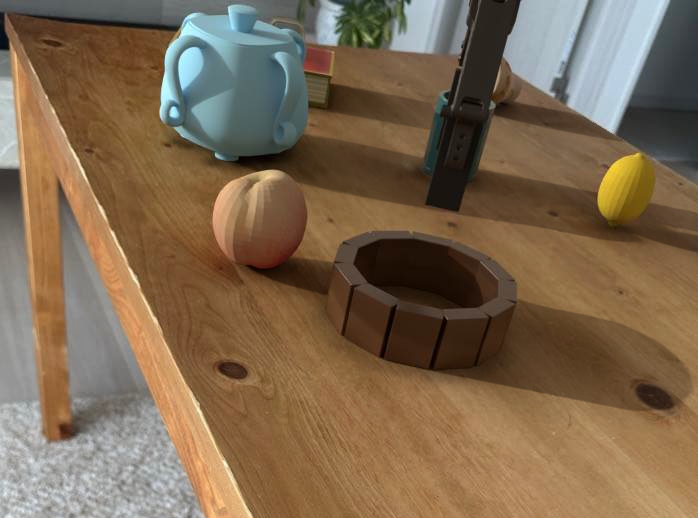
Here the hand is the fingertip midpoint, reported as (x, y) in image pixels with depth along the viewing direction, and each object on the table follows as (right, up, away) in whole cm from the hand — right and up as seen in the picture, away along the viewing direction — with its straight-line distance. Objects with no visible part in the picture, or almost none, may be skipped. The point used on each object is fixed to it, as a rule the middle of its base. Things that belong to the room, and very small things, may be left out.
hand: (446, 177), depth 73 cm
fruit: (-16, -6, +5) cm, 18 cm away
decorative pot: (-20, +15, +26) cm, 36 cm away
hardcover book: (-18, +31, +44) cm, 57 cm away
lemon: (+23, +5, +25) cm, 34 cm away
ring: (-2, -12, +2) cm, 12 cm away
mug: (+15, +32, +52) cm, 63 cm away
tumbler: (+6, +13, +30) cm, 33 cm away
